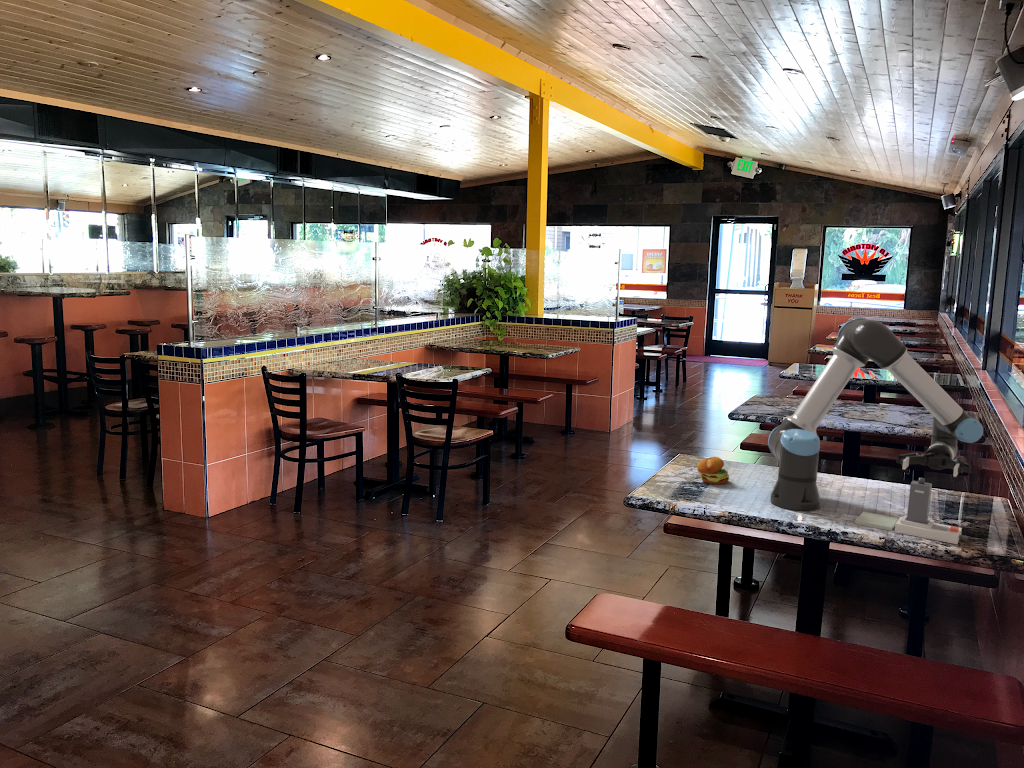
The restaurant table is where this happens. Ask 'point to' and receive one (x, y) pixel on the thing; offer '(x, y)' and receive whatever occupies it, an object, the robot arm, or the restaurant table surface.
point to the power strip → (930, 530)
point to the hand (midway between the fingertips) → (929, 468)
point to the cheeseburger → (713, 471)
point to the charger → (919, 501)
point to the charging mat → (876, 521)
